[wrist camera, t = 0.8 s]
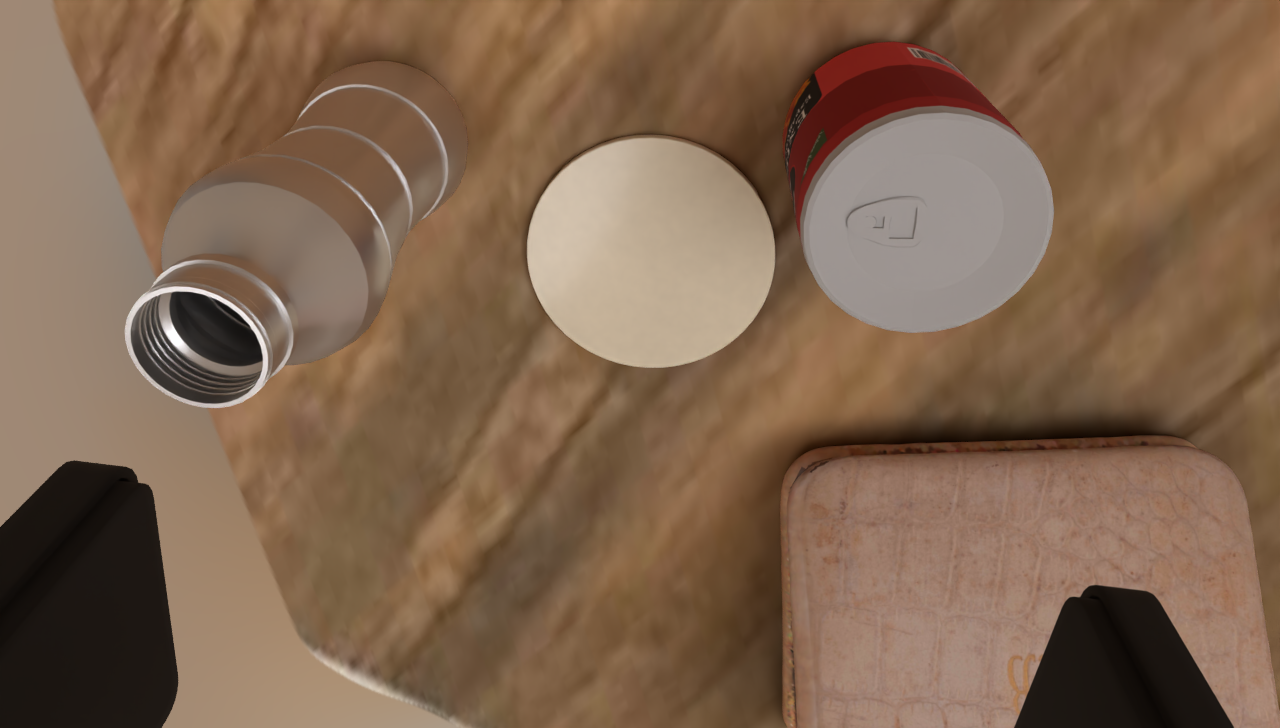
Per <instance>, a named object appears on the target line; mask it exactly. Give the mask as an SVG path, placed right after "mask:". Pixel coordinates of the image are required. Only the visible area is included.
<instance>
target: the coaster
mask: <svg viewBox="0 0 1280 728" xmlns="http://www.w3.org/2000/svg"><path fill="white" fill-rule="evenodd" d="M527 262H528V270H529V274H530V278H531V281H532V285H533V288H534V290H535V292H536V295H537V297H538V299H539V301H540V303H541V305H542V306H543V308H544V310H545V311H546V313H547V314H548V315H549V317H550V318H551V319H552V321H553V322H554V323H555V324H556V325H557V326H558V327H559V328H560V329H561V331H562V332H563V333H564V334H565V335H567V336H568V337H569V338H570V339H572V340H573V341H574V342H575V343H577V344H578V345H580V346H581V347H583V348H585V349H586V350H588V351H590V352H591V353H594V354H596V355H598V356H600V357H602V358H604V359H607V360H610V361H613V362H616V363H620V364H625V365H629V366H635V367H646V368H662V367H671V366H678V365H683V364H686V363H690V362H694V361H697V360H699V359H702V358H704V357H707V356H709V355H711V354H713V353H715V352H717V351H718V350H720V349H722V348H723V347H725V346H726V345H728V344H729V343H730V342H732V341H733V340H735V339H736V338H737V337H738V336H739V335H740V334H741V333H742V332H743V331H744V330H745V329H746V328H747V327H748V326H749V325H750V323H751V322H752V321H753V320H754V319H755V317H756V315H757V314H758V312H759V311H760V309H761V308H762V306H763V304H764V302H765V299H766V297H767V295H768V293H769V290H770V286H771V283H772V280H773V275H774V268H775V242H774V234H773V228H772V225H771V221H770V218H769V214H768V212H767V210H766V208H765V205H764V203H763V201H762V199H761V197H760V196H759V194H758V193H757V191H756V189H755V188H754V186H753V185H752V184H751V183H750V181H749V180H748V179H747V178H746V177H745V176H744V174H743V173H742V172H741V171H739V170H738V169H737V168H736V167H735V166H734V165H733V164H732V163H731V162H729V161H728V160H726V159H725V158H723V157H722V156H720V155H719V154H718V153H716V152H714V151H712V150H710V149H708V148H706V147H704V146H702V145H700V144H697V143H694V142H691V141H688V140H685V139H681V138H676V137H672V136H664V135H653V134H651V135H633V136H627V137H622V138H617V139H614V140H610V141H607V142H604V143H601V144H599V145H597V146H595V147H593V148H590V149H588V150H586V151H585V152H583V153H582V154H580V155H579V156H577V157H575V158H574V159H573V160H571V161H570V162H569V163H568V164H567V165H566V166H564V167H563V168H562V169H561V170H560V171H559V172H558V173H557V174H556V176H555V177H554V178H553V179H552V180H551V181H550V183H549V184H548V186H547V187H546V189H545V190H544V192H543V193H542V195H541V197H540V199H539V201H538V203H537V205H536V208H535V210H534V213H533V216H532V219H531V222H530V226H529V232H528V238H527Z"/></svg>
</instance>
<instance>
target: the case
mask: <svg viewBox="0 0 1280 728" xmlns="http://www.w3.org/2000/svg"><path fill="white" fill-rule="evenodd" d="M780 518H781V523H780V524H781V551H782V560H781V575H782V604H783V618H782V619H783V630H782V631H783V668H782V680H783V691H782V712H783V718H784V721H785V723H786V725H787V727H788V728H1014V727H1015V724H1016V722H1017V719H1018V716H1019V714H1020V711H1021V709H1022V706H1023V704H1024V701H1025V699H1026V696H1027V694H1028V691H1029V689H1030V686H1031V684H1032V681H1033V679H1034V676H1035V674H1036V671H1037V669H1038V666H1039V664H1040V661H1041V659H1042V656H1043V654H1044V651H1045V649H1046V646H1047V644H1048V641H1049V639H1050V636H1051V634H1052V631H1053V629H1054V626H1055V624H1056V621H1057V619H1058V616H1059V614H1060V611H1061V609H1062V606H1063V605H1064V603H1065V601H1066V600H1067V599H1068V598H1069V597H1080V596H1081V594H1082V593H1083V591H1084V590H1085V589H1086V588H1087V587H1088V586H1091V585H1102V586H1110V587H1118V588H1127V589H1135V590H1143V591H1148V592H1150V593H1152V594H1154V595H1155V597H1156V598H1157V599H1158V600H1159V601H1160V603H1161V605H1162V607H1163V608H1164V610H1165V612H1166V613H1167V615H1168V617H1169V618H1170V620H1171V622H1172V623H1173V625H1174V627H1175V628H1176V630H1177V632H1178V633H1179V635H1180V637H1181V639H1182V640H1183V642H1184V644H1185V645H1186V647H1187V649H1188V650H1189V652H1190V654H1191V655H1192V657H1193V659H1194V660H1195V662H1196V664H1197V666H1198V667H1199V669H1200V671H1201V672H1202V674H1203V676H1204V677H1205V679H1206V681H1207V682H1208V684H1209V686H1210V687H1211V689H1212V691H1213V693H1214V694H1215V696H1216V698H1217V699H1218V701H1219V703H1220V704H1221V706H1222V708H1223V709H1224V711H1225V713H1226V714H1227V716H1228V718H1229V720H1230V721H1231V723H1232V725H1233V726H1234V728H1280V712H1279V707H1278V700H1277V693H1276V688H1275V681H1274V674H1273V669H1272V666H1271V655H1270V648H1269V642H1268V637H1267V631H1266V625H1265V617H1264V610H1263V604H1262V599H1261V591H1260V584H1259V579H1258V572H1257V563H1256V557H1255V552H1254V543H1253V536H1252V530H1251V524H1250V520H1249V512H1248V506H1247V501H1246V497H1245V493H1244V491H1243V488H1242V486H1241V484H1240V482H1239V480H1238V478H1237V476H1236V475H1235V474H1234V472H1233V471H1232V470H1231V469H1230V468H1229V467H1228V466H1227V465H1226V464H1225V463H1224V462H1223V461H1222V460H1221V459H1219V458H1218V457H1216V456H1214V455H1212V454H1210V453H1208V452H1206V451H1203V450H1200V449H1198V448H1197V447H1196V446H1194V445H1193V444H1191V443H1190V442H1188V441H1186V440H1184V439H1181V438H1177V437H1173V436H1163V435H1138V436H1123V437H1094V438H1073V439H1043V440H1016V441H981V442H944V443H911V444H899V445H897V444H872V445H870V444H867V445H845V446H828V447H821V448H817V449H813V450H811V451H809V452H807V453H805V454H803V455H802V456H800V457H799V458H797V459H796V460H795V461H794V462H793V463H792V465H791V466H790V467H789V469H788V470H787V472H786V474H785V476H784V479H783V483H782V488H781V502H780Z"/></svg>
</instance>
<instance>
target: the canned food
mask: <svg viewBox="0 0 1280 728" xmlns="http://www.w3.org/2000/svg"><path fill="white" fill-rule="evenodd" d="M783 155H784V160H785V166H786V171H787V176H788V181H789V186H790V192H791V197H792V202H793V207H794V212H795V218H796V223H797V228H798V232H799V236H800V240H801V244H802V248H803V251H804V256H805V260H806V262H807V264H808V266H809V268H810V270H811V272H812V274H813V276H814V278H815V279H816V281H817V283H818V285H819V286H820V287H821V289H822V290H823V291H824V292H825V293H826V295H827V296H828V297H829V298H830V300H831V301H833V302H834V303H835V304H836V305H837V306H839V307H840V308H841V309H842V310H844V311H845V312H846V313H847V314H849V315H851V316H853V317H855V318H857V319H859V320H861V321H863V322H865V323H867V324H870V325H873V326H876V327H880V328H883V329H886V330H892V331H900V332H909V333H915V332H935V331H939V330H944V329H949V328H954V327H958V326H960V325H963V324H966V323H968V322H971V321H974V320H976V319H979V318H981V317H982V316H984V315H986V314H988V313H989V312H991V311H993V310H994V309H996V308H998V307H1000V306H1001V305H1002V304H1003V303H1005V302H1006V301H1007V300H1008V299H1009V298H1011V297H1012V296H1013V295H1014V294H1015V293H1017V292H1018V291H1019V290H1020V288H1021V287H1022V286H1023V285H1024V284H1025V283H1026V281H1027V280H1028V279H1029V278H1030V277H1031V276H1032V274H1033V273H1034V271H1035V270H1036V268H1037V266H1038V264H1039V263H1040V261H1041V259H1042V257H1043V256H1044V254H1045V251H1046V248H1047V245H1048V242H1049V239H1050V236H1051V233H1052V224H1053V215H1054V208H1053V199H1052V191H1051V187H1050V185H1049V182H1048V179H1047V176H1046V174H1045V171H1044V169H1043V167H1042V165H1041V162H1040V161H1039V159H1038V158H1037V156H1036V155H1035V153H1034V152H1033V150H1032V149H1031V147H1030V146H1029V144H1028V143H1027V142H1026V141H1025V140H1024V139H1023V138H1022V136H1021V135H1020V133H1019V132H1018V131H1017V130H1016V129H1015V128H1014V127H1013V126H1012V125H1011V124H1010V123H1009V122H1008V121H1007V120H1006V119H1005V117H1004V116H1003V115H1002V114H1001V113H1000V112H999V111H998V110H997V109H996V108H995V107H994V106H993V105H992V104H991V103H990V102H989V101H988V99H987V98H986V97H985V96H984V95H983V94H982V93H981V92H980V91H979V90H978V89H977V88H976V87H975V86H974V85H973V84H972V83H971V81H970V80H969V79H968V78H967V77H966V76H965V75H964V74H963V73H962V72H961V71H960V70H959V69H958V68H957V67H956V66H954V65H953V64H952V63H951V62H950V61H949V60H948V59H946V58H944V57H943V56H941V55H939V54H937V53H936V52H934V51H932V50H929V49H926V48H923V47H920V46H917V45H914V44H908V43H900V42H883V43H872V44H868V45H864V46H860V47H857V48H853V49H851V50H849V51H846V52H844V53H842V54H840V55H838V56H836V57H834V58H832V59H831V60H830V61H828V62H827V63H825V64H824V65H823V66H821V67H820V68H818V69H817V70H816V71H815V72H814V73H813V74H812V75H811V76H810V77H809V78H808V79H807V81H806V82H805V83H804V84H803V85H802V87H801V88H800V90H799V91H798V93H797V94H796V96H795V97H794V99H793V101H792V103H791V106H790V108H789V111H788V113H787V116H786V120H785V125H784V130H783Z"/></svg>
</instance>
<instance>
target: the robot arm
mask: <svg viewBox="0 0 1280 728" xmlns="http://www.w3.org/2000/svg"><path fill="white" fill-rule="evenodd" d="M177 687H178V672H177V665H176V657H175V650H174V643H173V635H172V628H171V621H170V614H169V606H168V599H167V592H166V584H165V577H164V570H163V562H162V555H161V548H160V540H159V533H158V525H157V518H156V511H155V504H154V497H153V493H152V490H151V488H150V487H149V485H146V484H143V483H138V480H137V476H136V474H135V473H134V471H133V470H132V469H130V468H127V467H122V466H114V465H106V464H98V463H89V462H81V461H70V462H66V463H65V464H63V465H62V466H61V467H59V468H58V469H57V471H55V472H54V473H53V474H52V476H50V477H49V479H48V480H47V481H45V483H43V484H42V486H40V487H39V489H38V490H37V491H36V492H35V493H34V494H33V495H32V496H31V497H30V498H29V499H28V500H27V501H26V502H25V503H24V504H23V505H22V506H21V507H20V508H19V509H18V510H17V511H16V512H15V513H14V514H13V515H12V516H11V517H10V518H9V519H8V520H7V521H6V522H5V523H4V524H3V525H2V526H1V527H0V728H162V726H163V724H164V723H165V721H166V719H167V717H168V716H169V714H170V711H171V710H172V707H173V704H174V701H175V698H176V694H177ZM1014 728H1234V726H1233V725H1232V723H1231V721H1230V720H1229V718H1228V716H1227V714H1226V713H1225V711H1224V709H1223V708H1222V706H1221V704H1220V703H1219V701H1218V699H1217V698H1216V696H1215V694H1214V693H1213V691H1212V689H1211V687H1210V686H1209V684H1208V682H1207V681H1206V679H1205V677H1204V676H1203V674H1202V672H1201V671H1200V669H1199V667H1198V666H1197V664H1196V662H1195V660H1194V659H1193V657H1192V655H1191V654H1190V652H1189V650H1188V649H1187V647H1186V645H1185V644H1184V642H1183V640H1182V639H1181V637H1180V635H1179V633H1178V632H1177V630H1176V628H1175V627H1174V625H1173V623H1172V622H1171V620H1170V618H1169V617H1168V615H1167V613H1166V612H1165V610H1164V608H1163V607H1162V605H1161V603H1160V601H1159V600H1158V599H1157V598H1156V597H1155V595H1154V594H1152V593H1150V592H1148V591H1143V590H1135V589H1127V588H1118V587H1110V586H1102V585H1091V586H1088V587H1087V588H1086V589H1085V590H1084V591H1083V593H1082V594H1081V596H1080V597H1069V598H1068V599H1067V600H1066V601H1065V603H1064V605H1063V606H1062V609H1061V611H1060V614H1059V616H1058V619H1057V621H1056V624H1055V626H1054V629H1053V631H1052V634H1051V636H1050V639H1049V641H1048V644H1047V646H1046V649H1045V651H1044V654H1043V656H1042V659H1041V661H1040V664H1039V666H1038V669H1037V671H1036V674H1035V676H1034V679H1033V681H1032V684H1031V686H1030V689H1029V691H1028V694H1027V696H1026V699H1025V701H1024V704H1023V706H1022V709H1021V711H1020V714H1019V716H1018V719H1017V722H1016V724H1015V727H1014Z"/></svg>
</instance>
